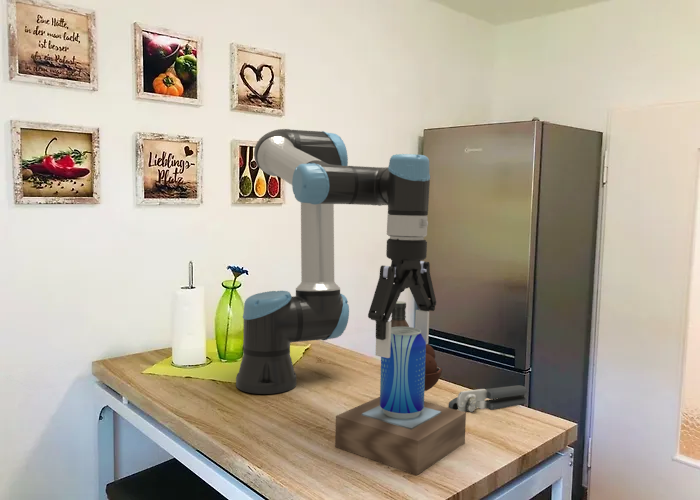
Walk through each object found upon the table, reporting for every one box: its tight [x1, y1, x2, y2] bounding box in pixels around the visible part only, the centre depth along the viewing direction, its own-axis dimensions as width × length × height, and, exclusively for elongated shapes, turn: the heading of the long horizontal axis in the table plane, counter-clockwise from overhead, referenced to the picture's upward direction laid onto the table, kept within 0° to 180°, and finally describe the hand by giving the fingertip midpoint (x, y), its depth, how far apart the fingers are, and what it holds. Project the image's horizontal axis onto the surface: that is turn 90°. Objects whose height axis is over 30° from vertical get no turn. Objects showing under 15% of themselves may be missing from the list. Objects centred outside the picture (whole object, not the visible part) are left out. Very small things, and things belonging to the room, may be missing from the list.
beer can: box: [379, 326, 426, 419], centre depth 110 cm, size 8×8×16 cm
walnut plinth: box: [334, 396, 467, 476], centre depth 111 cm, size 18×18×6 cm
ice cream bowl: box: [424, 343, 443, 392], centre depth 130 cm, size 11×11×15 cm
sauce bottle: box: [389, 300, 410, 327], centre depth 157 cm, size 6×6×20 cm
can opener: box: [448, 385, 528, 413], centre depth 133 cm, size 19×6×5 cm, turn 111°
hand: (403, 349), depth 110 cm, fingers open, 13 cm apart
